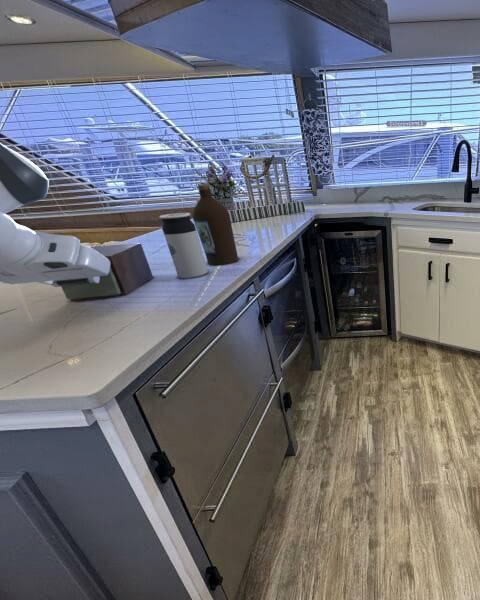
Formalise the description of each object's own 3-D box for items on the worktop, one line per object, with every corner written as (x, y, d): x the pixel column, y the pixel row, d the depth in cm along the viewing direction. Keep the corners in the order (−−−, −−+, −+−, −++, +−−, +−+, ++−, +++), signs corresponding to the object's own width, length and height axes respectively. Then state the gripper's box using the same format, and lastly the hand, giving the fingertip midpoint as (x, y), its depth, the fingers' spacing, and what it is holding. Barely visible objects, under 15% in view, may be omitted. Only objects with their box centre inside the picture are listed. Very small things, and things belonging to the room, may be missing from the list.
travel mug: (205, 268, 103) (188, 211, 96) (210, 274, 98) (193, 214, 91) (176, 274, 99) (156, 215, 92) (180, 280, 93) (159, 218, 86)
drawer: (108, 300, 78) (93, 266, 75) (54, 306, 76) (36, 271, 73) (145, 277, 94) (134, 248, 91) (101, 281, 92) (88, 252, 89)
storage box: (126, 294, 84) (110, 255, 80) (71, 300, 82) (51, 260, 78) (153, 277, 97) (140, 242, 93) (106, 281, 95) (91, 246, 91)
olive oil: (228, 255, 118) (209, 183, 108) (246, 259, 113) (229, 183, 103) (199, 263, 109) (176, 186, 99) (218, 267, 104) (196, 186, 94)
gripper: (-45, 272, 62) (24, 299, 74) (78, 261, 65) (124, 289, 78) (-35, 244, 64) (31, 275, 76) (83, 235, 67) (127, 266, 80)
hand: (78, 282), depth 77 cm, fingers closed on drawer, 6 cm apart
